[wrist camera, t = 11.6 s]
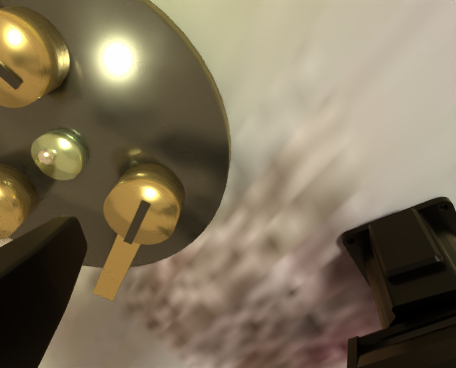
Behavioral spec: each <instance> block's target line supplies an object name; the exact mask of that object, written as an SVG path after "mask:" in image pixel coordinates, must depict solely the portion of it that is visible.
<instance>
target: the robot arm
mask: <svg viewBox="0 0 456 368" xmlns="http://www.w3.org/2000/svg"><path fill="white" fill-rule="evenodd" d="M443 204H445V205H444V206H443V207H440V206H441V205H443ZM349 238H353V239H352V240H348V239H349ZM342 240H343V244H344V245H345V247H346V249H347V250H348V252H349V253H350V255H351V257H352V258H353V260H354V262H355V263H356V265H357V266H358V268H359V270H360V271H361V273H362V274H363V276H364V278H365V279H366V281H367V283H368V284H369V286H370V287H371V290H372V294H373V297H374V301H375V304H376V307H377V311H378V314H379V318H380V321H381V325H382V328H383V329H382V330H379V331H376V332H373V333H370V334H367V335H365V336H362V337H358V336H356V337H353V338H351V339H348V357H347V368H456V211H455V208H454V206H453V204H452V202H451V201H450V200H449V198H447V197H438V198H436V199H433V200H430V201H428V202H425V203H422V204H420V205H417V206H414V207H412V208H409V209H406V210H404V211H401V212H398V213H395V214H393V215H390V216H387V217H385V218H382V219H379V220H377V221H374V222H371V223H369V224H366V225H363V226H361V227H358V228H355V229H353V230H350V231H347V232H345V233H344V234H343V235H342ZM87 248H88V245H87V240H86V238H85V235H84V232H83V229H82V227H81V224H80V221H79V219H78V218H77V217H75V216H57V217H55V218H53V219H52V220H50V221H48V222H46V223H44V224H42V225H40V226H39V227H37V228H35V229H33V230H31V231H29V232H27V233H26V234H24V235H22V236H20V237H18V238H16V239H15V240H13V241H11V242H9V243H7V244H5V245H3V246H2V247H0V368H38V366H39V364H40V362H41V360H42V358H43V356H44V354H45V352H46V350H47V348H48V346H49V344H50V342H51V339H52V337H53V335H54V333H55V331H56V329H57V327H58V325H59V323H60V321H61V319H62V317H63V314H64V312H65V310H66V307H67V305H68V302H69V300H70V297H71V294H72V292H73V289H74V286H75V283H76V281H77V278H78V275H79V272H80V270H81V267H82V264H83V261H84V259H85V256H86V253H87Z"/></svg>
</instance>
